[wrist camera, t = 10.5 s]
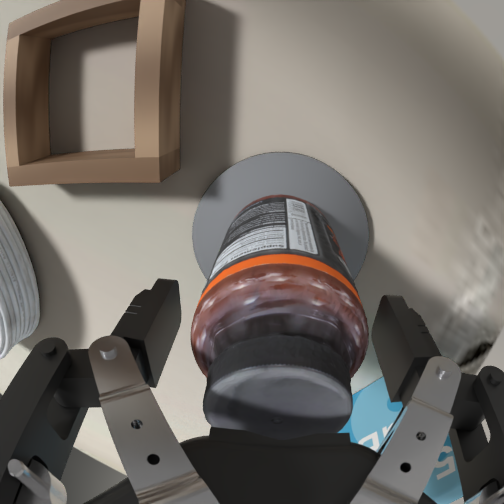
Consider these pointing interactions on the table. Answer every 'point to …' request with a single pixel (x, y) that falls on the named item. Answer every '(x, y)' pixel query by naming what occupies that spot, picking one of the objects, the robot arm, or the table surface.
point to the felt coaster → (286, 183)
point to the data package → (377, 426)
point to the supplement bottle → (279, 324)
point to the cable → (15, 287)
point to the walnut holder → (145, 101)
